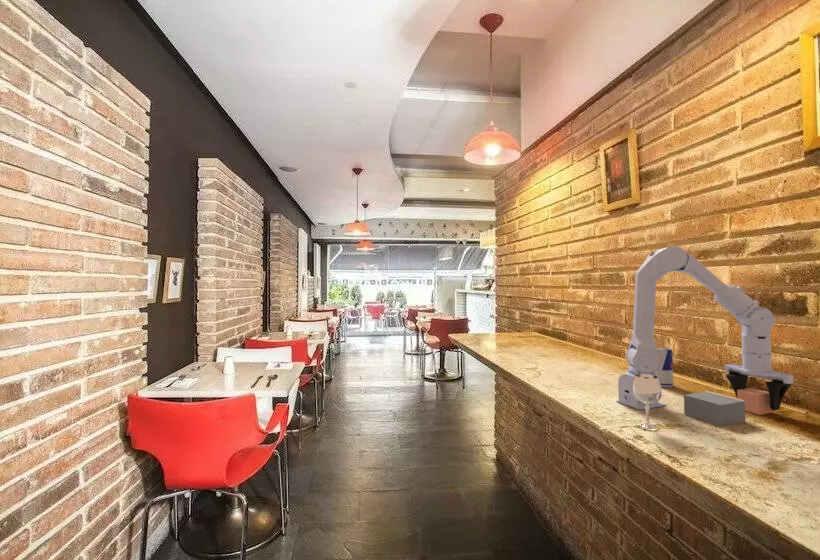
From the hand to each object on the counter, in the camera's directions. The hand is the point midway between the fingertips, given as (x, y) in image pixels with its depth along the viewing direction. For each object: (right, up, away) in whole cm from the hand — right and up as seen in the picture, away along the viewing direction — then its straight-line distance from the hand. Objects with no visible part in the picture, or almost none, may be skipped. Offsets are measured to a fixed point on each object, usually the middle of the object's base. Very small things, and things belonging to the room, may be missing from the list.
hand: (757, 405), depth 103 cm
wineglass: (-34, -2, -10) cm, 36 cm away
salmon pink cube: (-1, -1, 0) cm, 2 cm away
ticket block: (-15, -2, -5) cm, 16 cm away
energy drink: (-8, -2, +26) cm, 27 cm away
